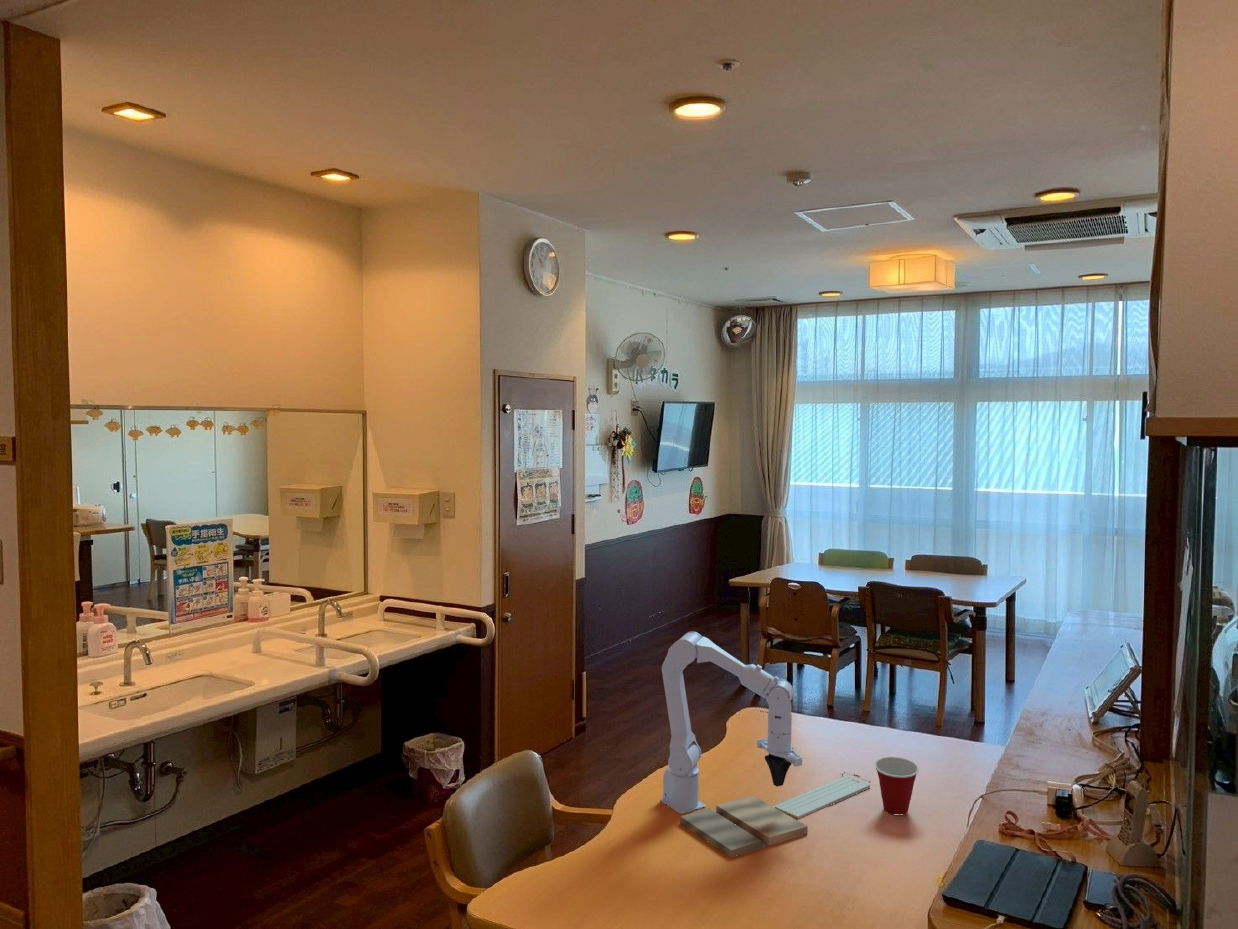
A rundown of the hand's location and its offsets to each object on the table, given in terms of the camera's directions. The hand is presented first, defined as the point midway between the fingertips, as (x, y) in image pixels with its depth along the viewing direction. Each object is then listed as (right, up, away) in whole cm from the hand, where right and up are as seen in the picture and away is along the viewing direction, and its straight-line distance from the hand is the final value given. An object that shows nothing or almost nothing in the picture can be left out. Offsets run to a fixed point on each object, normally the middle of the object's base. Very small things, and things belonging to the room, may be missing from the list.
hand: (778, 785), depth 222 cm
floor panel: (-15, -9, -8) cm, 20 cm away
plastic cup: (+31, -9, +6) cm, 33 cm away
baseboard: (+13, -9, +14) cm, 22 cm away
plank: (-5, -9, -1) cm, 10 cm away
